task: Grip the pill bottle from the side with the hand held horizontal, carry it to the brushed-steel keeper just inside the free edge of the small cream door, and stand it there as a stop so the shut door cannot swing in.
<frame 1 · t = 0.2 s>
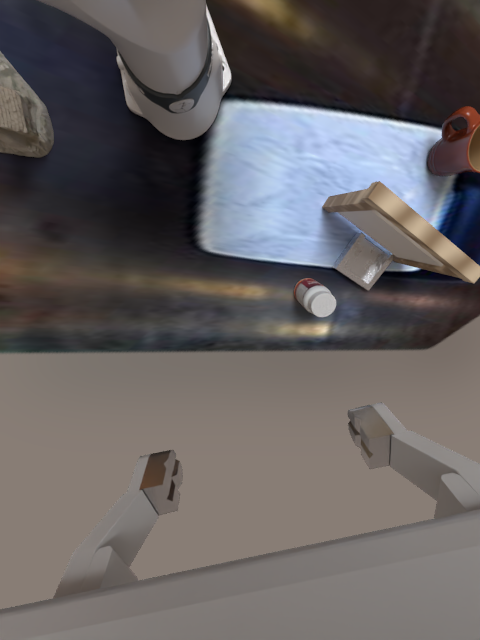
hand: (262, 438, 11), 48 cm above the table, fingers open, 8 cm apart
door: (391, 230, 47), point 9 cm above the table, hinge at 0.0°
ceramic cottage: (3, 103, 42), on the table
mug: (437, 151, 50), on the table
pill bottle: (305, 289, 60), on the table
door frame: (333, 208, 53), on the table
keeper: (362, 259, 58), on the table
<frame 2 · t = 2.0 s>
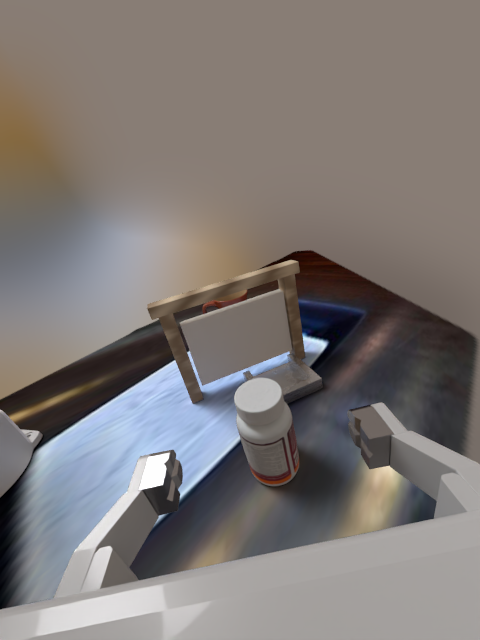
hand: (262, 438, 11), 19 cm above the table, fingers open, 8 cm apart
door: (239, 335, 44), point 9 cm above the table, hinge at 0.0°
mug: (233, 332, 65), on the table
pill bottle: (274, 463, 30), on the table
door frame: (203, 394, 45), on the table
keeper: (279, 382, 43), on the table
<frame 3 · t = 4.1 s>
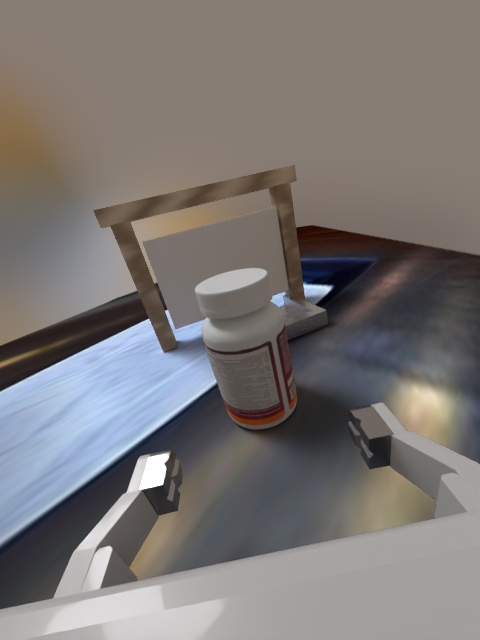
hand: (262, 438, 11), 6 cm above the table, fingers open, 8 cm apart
door: (222, 267, 35), point 8 cm above the table, hinge at 0.0°
pill bottle: (262, 405, 21), on the table
door frame: (178, 342, 36), on the table
keeper: (272, 324, 34), on the table
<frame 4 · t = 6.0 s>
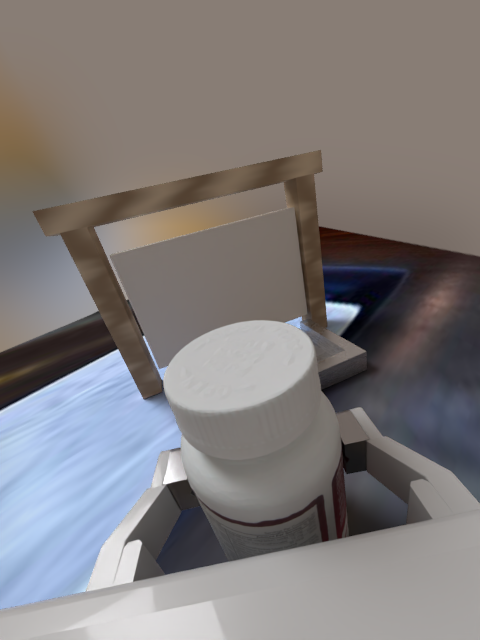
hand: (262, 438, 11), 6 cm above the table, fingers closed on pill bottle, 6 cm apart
door: (221, 286, 27), point 8 cm above the table, hinge at 0.0°
pill bottle: (286, 534, 13), on the table, touching gripper
door frame: (164, 384, 27), on the table
keeper: (288, 362, 26), on the table
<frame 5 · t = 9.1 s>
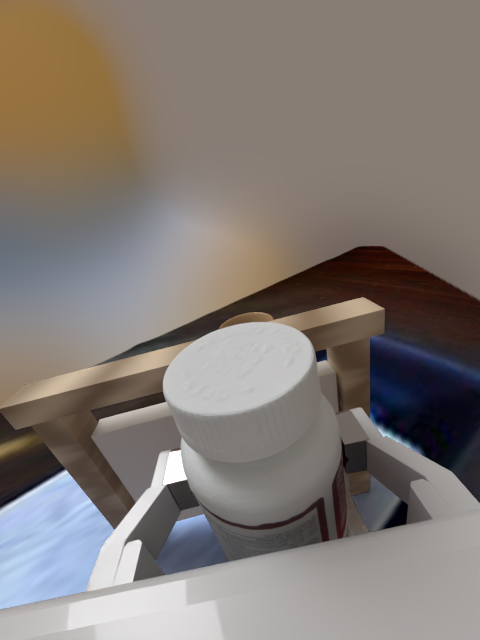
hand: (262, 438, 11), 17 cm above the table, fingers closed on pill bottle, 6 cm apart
door: (232, 442, 21), point 9 cm above the table, hinge at 0.0°
mug: (249, 379, 42), on the table
pill bottle: (287, 535, 13), point 11 cm above the table, touching gripper
door frame: (161, 532, 24), on the table
keeper: (307, 560, 20), on the table
when the fingers open (7 cm above the table, at t = 12.2 s): pill bottle stays where it is, resting on keeper.
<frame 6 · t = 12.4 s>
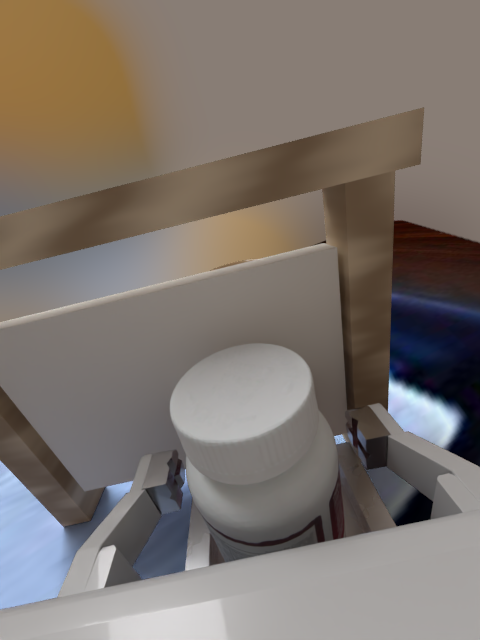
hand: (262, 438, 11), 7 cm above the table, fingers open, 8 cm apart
door: (189, 375, 15), point 8 cm above the table, hinge at 0.0°
pill bottle: (287, 546, 13), resting on keeper
door frame: (102, 501, 18), on the table
keeper: (290, 545, 13), on the table
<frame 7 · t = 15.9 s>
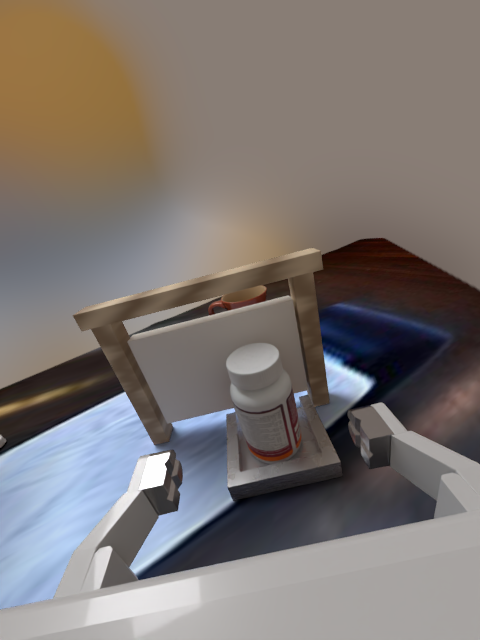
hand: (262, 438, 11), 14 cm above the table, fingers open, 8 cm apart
door: (224, 360, 30), point 9 cm above the table, hinge at 0.0°
mug: (247, 342, 50), on the table
pill bottle: (274, 441, 28), resting on keeper
door frame: (173, 433, 32), on the table
keeper: (276, 441, 28), on the table
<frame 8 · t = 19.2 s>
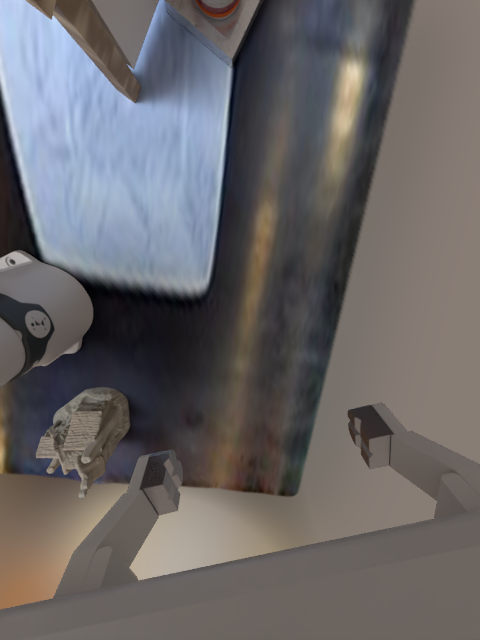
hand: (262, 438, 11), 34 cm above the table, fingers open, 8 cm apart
ceramic cottage: (94, 414, 53), on the table
door frame: (133, 77, 31), on the table
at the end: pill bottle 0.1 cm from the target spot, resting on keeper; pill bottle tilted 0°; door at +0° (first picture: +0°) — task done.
